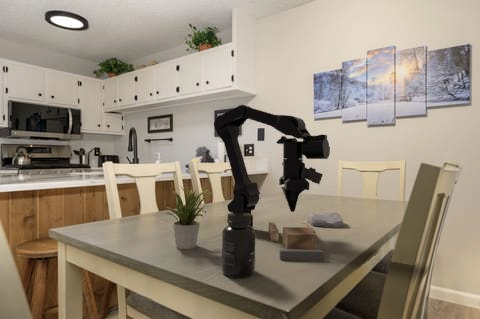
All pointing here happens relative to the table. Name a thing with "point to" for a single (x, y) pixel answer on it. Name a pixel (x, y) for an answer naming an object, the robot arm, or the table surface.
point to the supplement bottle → (238, 246)
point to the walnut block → (299, 238)
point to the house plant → (187, 220)
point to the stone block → (325, 220)
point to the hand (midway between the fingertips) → (292, 211)
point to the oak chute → (275, 233)
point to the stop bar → (301, 254)
